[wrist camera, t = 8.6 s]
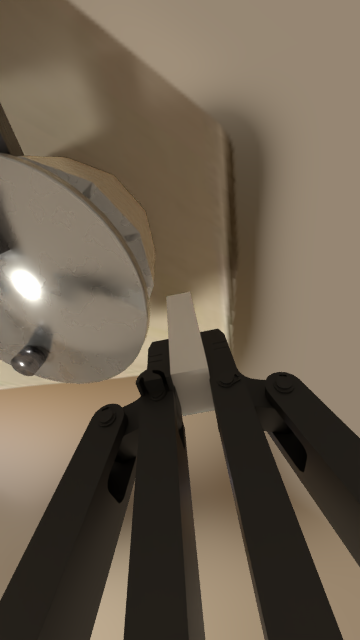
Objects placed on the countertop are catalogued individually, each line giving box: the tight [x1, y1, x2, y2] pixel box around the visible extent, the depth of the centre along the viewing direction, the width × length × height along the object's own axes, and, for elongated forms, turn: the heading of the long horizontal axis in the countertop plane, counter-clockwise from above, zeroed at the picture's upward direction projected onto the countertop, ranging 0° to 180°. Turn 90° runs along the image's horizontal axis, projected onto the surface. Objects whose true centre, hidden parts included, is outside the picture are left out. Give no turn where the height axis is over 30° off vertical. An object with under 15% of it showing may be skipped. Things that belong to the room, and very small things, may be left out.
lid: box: [0, 153, 150, 384], centre depth 16 cm, size 17×19×3 cm
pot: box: [0, 104, 155, 299], centre depth 22 cm, size 18×24×9 cm
